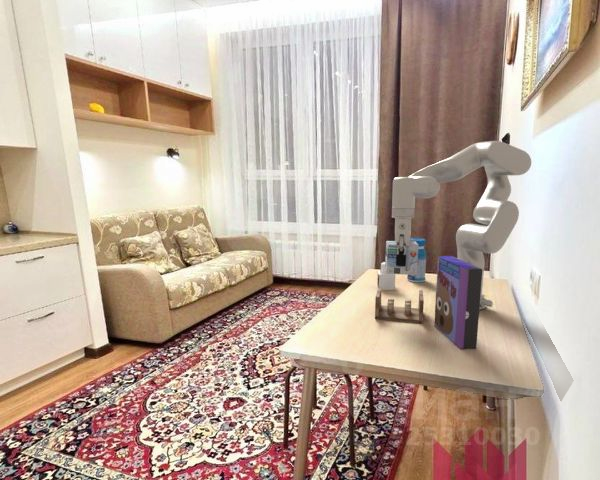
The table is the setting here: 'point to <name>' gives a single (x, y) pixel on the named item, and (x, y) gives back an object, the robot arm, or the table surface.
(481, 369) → the table surface
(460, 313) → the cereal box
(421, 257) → the beverage bottle
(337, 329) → the table surface
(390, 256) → the light bulb box
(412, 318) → the peg stand
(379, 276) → the medicine bottle
